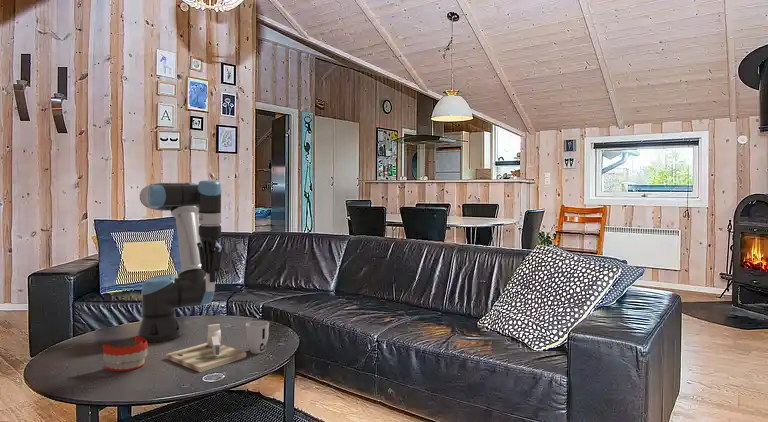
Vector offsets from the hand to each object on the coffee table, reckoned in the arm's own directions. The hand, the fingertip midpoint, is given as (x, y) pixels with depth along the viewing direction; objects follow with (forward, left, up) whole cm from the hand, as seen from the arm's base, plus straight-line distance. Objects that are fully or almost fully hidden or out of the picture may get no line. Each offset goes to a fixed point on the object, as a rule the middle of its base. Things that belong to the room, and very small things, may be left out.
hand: (210, 290), depth 186 cm
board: (+5, -5, -22) cm, 23 cm away
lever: (+5, -2, -20) cm, 21 cm away
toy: (-7, -26, -22) cm, 35 cm away
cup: (+13, +10, -22) cm, 28 cm away
